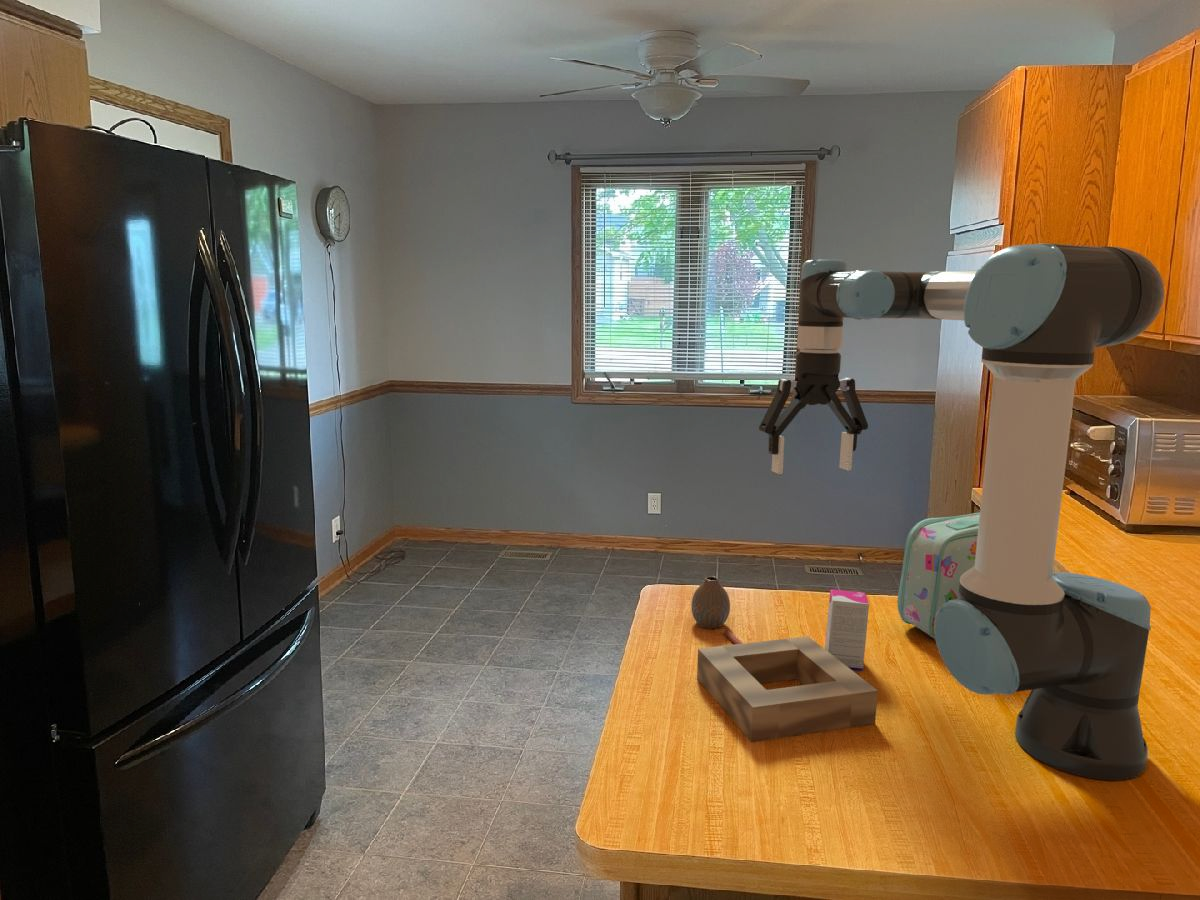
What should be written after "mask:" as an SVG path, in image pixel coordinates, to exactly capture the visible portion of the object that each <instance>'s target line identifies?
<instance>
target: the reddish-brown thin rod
mask: <svg viewBox="0 0 1200 900" xmlns="http://www.w3.org/2000/svg"><path fill="white" fill-rule="evenodd" d="M723 634H724V635H725V636H726V637H727V638H728V639H729V640H730V641H731V642H732V643H734V644H743V642H742V640H740V639H739V638H738V637H737V636H736V635H735V634H734V633H733V632H731V631H730V629H728V628H724V630H723Z"/></svg>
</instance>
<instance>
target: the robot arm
mask: <svg viewBox="0 0 1200 900" xmlns="http://www.w3.org/2000/svg"><path fill="white" fill-rule="evenodd" d="M847 266H848V265H847V263H846V262H845V261H844V259H843V260H842V259H809V260H806V261H804V262H803V264H802V266H801V274H800V275H801V276H800V280H799V301H798V323H797V325H798V326H797V340H796V341H797V342H796V348H797V349H798V350H799V349H800V351H798V352H797V353H796V356H795V360H796V361H795V379H794V380H790V379H785V378H779V379H778V383H777V389H776V391H775V395H774V397H773V399H772V400H771V403H770V404H769V407H768V408H767V410H766V413H765V414H764V416H763V418H762V420H761V423H760V424H759V427H758V430H759V432H762V433H765V434H767V435H768V453H769V454H771V456H772V457H771V458H772V459H771V472H774V473H775V474H778V475H782V474H783V472H784V471H783V470H784V456H785V455H784V454H785V451H784V450H785V436H782V435H781V434H783V432H784V431H785V430H786V428H787V427H788V426H789V425H790V424H791V423H792V421H793V420H794V419H795V417H796V416H797V415H798V414H799V413H800V411H801V410H802V409H804V408H806V406H807V405H808V406H815V405H816V406H817V405H825V406H826V405H827V406H829V408H830V410H831V411H832V412H833V414H834V415H835V416H836V418H837V419H838V421H839V422H840V424H841V425H842V427H843V428H844V429H845V430H846V431H842V432H841V438H840V450H839V452H840V453H839V469H842V470H845V471H852V463H853V452H856V450H857V446H858V445H857V442H858V435H860V434H862V431H863V430H864V431H866V430H868V428H869V424H868V422H867V421H868V420H867V419H866V416H865V413H864V411H863V407H862V406H861V403H860V399H859V397H858V394H857V392H856V380H855V379H854V378H852V377H851V378H850V377H842V379H840V377H839V374H840V373H841V364H842V363H841V362H842V355H841V353H840V352H839V351H840V350H841V349H843V348H842V347H843V330H844V318H845V319H846V318H847V319H854V320H859V321H860V320H867V321H868V320H872V319H915V320H916V319H917V320H918V319H919V320H921V319H922V320H923V319H925V320H947V321H963V322H964V325H965V327H966V328H968V329H969V330H968V331H967V333H968V335H969V337H970V339H972V341H974V343H976V344H977V345H979V346H981V347H982V351H981V352H982V353H981V360H980V361H981V363H982V364H983V365H984V366H985V367H986V368H987V369H988V370H989V371H990V373H991V374H992V376H993V379H992V380H993V381H992V389H991V390H992V391H991V392H992V393H991V399H990V401H991V402H990V410H989V419H988V420H989V422H988V430H987V431H988V432H987V438H986V439H987V440H986V448H985V450H986V451H985V459H984V469H983V480H982V490H981V499H980V508H979V512H980V517H979V527H978V537H977V547H976V556H975V565H974V567H972V568H971V569H969V570H968V571H966V572H965V573H964V574H962V575H961V577H960V583H959V593H958V599H955V600H949V601H948V602H947V603H945V604H943V606H942V607H941V608H939V610H938V611H937V614H936V617H935V623H934V632H935V638H934V640H935V642H936V643H935V644H936V647H937V650H938V653H939V656H940V658H941V659H942V662H944V665H945V667H946V668H947V670H948V672H949V673H950V674H951V676H952V677H953V679H954V680H956V681H957V683H959V684H960V685H961V686H963V687H964V688H965V689H967V690H969V691H970V692H972V693H975V694H978V695H985V696H986V695H987V696H989V695H997V694H998V695H999V694H1000V695H1005V696H1006V695H1013V694H1014V693H1016V692H1017V693H1018V692H1023V691H1024V692H1025V691H1030V690H1031V691H1030V693H1029V695H1028V696H1027V698H1026V700H1025V702H1024V704H1023V707H1022V708H1021V710H1020V711H1019V713H1018V715H1017V717H1016V721H1015V728H1014V729H1015V730H1014V731H1015V732H1014V737H1015V739H1016V742H1017V743H1018V745H1020V747H1021V748H1022V749H1023V750H1024V751H1025V752H1027V753H1028V754H1029V755H1030V756H1032V757H1034V758H1035V759H1037V760H1039V761H1040V762H1042V763H1044V764H1046V765H1048V766H1051V767H1052V768H1054V769H1057V770H1060V771H1063V772H1066V773H1069V774H1072V775H1076V776H1080V777H1083V778H1084V777H1085V778H1089V779H1096V780H1103V781H1122V780H1123V781H1125V780H1129V779H1130V780H1131V779H1134V778H1137V777H1139V776H1140V775H1143V772H1144V771H1145V770H1146V767H1147V761H1148V754H1149V751H1148V745H1147V741H1146V739H1145V738H1144V734H1143V727H1142V722H1141V721H1142V720H1141V717H1140V711H1139V708H1138V707H1139V698H1140V693H1141V692H1140V691H1141V686H1142V679H1143V673H1144V667H1145V659H1146V653H1147V647H1148V641H1149V634H1150V631H1151V629H1152V626H1151V625H1150V624H1151V623H1150V622H1151V611H1152V610H1151V609H1152V608H1151V604H1150V602H1149V600H1148V598H1147V597H1146V596H1145V595H1144V594H1142V593H1140V592H1139V591H1137V590H1135V589H1134V588H1131V587H1129V586H1126V585H1123V584H1121V583H1118V582H1115V581H1112V580H1108V579H1103V578H1100V577H1098V576H1097V577H1095V576H1091V575H1087V574H1081V573H1076V572H1075V573H1074V572H1063V571H1062V572H1054V564H1055V555H1056V547H1057V542H1058V540H1057V539H1058V529H1059V523H1060V522H1059V521H1060V515H1061V513H1060V512H1061V505H1062V497H1063V490H1064V484H1065V483H1064V480H1065V473H1066V464H1067V456H1068V448H1069V439H1070V433H1071V424H1072V423H1071V422H1072V417H1073V416H1072V415H1073V406H1074V398H1075V397H1074V396H1075V389H1076V381H1078V379H1079V378H1080V376H1082V375H1083V374H1085V373H1086V372H1087V371H1088V370H1090V369H1091V368H1092V367H1094V359H1095V352H1096V348H1103V347H1112V346H1115V345H1119V344H1120V345H1121V344H1124V343H1126V342H1128V341H1131V340H1132V339H1135V338H1137V337H1138V336H1139V335H1141V334H1142V333H1144V332H1145V331H1146V330H1147V329H1149V327H1150V326H1151V325H1152V324H1153V323H1154V322H1155V320H1156V319H1157V317H1158V316H1159V314H1160V311H1161V309H1162V306H1163V303H1164V298H1165V288H1164V287H1165V286H1164V280H1163V277H1162V275H1161V274H1160V271H1159V270H1158V268H1157V267H1156V266H1155V264H1154V263H1153V262H1152V261H1151V260H1149V259H1148V258H1147V257H1146V256H1144V255H1143V254H1141V253H1139V252H1138V251H1135V250H1132V249H1129V248H1124V247H1119V246H1090V245H1076V244H1075V245H1073V244H1058V243H1057V244H1056V243H1041V242H1039V243H1035V244H1034V243H1033V244H1032V243H1031V244H1020V245H1019V244H1018V245H1011V246H1008V247H1005V248H1003V249H1000V250H998V251H997V252H995V253H993V254H992V255H991V256H990V257H988V258H987V260H986V261H985V262H984V264H983V265H982V266H980V267H979V268H978V269H977V270H954V271H953V270H951V271H893V270H892V271H891V270H887V271H885V270H883V271H882V270H874V269H857V270H848V269H847ZM839 389H840V391H841V392H842V396H843V398H844V401H845V403H846V406H847V409H848V411H849V412H848V411H847V409H846V407H844V405H843V404H842V400H841V399H840V398H839V396H838V395H837V391H839ZM793 390H795V394H794V395H793V396H792V397H791V399H790V402H789V403H788V404H787V406H786V407H785V405H786V403H787V401H788V398H790V397H789V396H790V394H791V393H792V392H793ZM784 407H785V409H784ZM783 409H784V410H783Z"/></svg>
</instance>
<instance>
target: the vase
mask: <svg viewBox="0 0 1200 900" xmlns="http://www.w3.org/2000/svg"><path fill="white" fill-rule="evenodd" d="M690 606H691V614H692V617H693V619H694V620H695V623H696V624H698V625H699V626H700V627H701V628H704V629H711V630H712V629H718V628H720V627H721V626H723V625H724V624H725V623H726V622H727V620H728V618H729V615H730V612H731V602H730V597H729V594H728V593H727V591H726V589H725V588H724V586H723V585H722V584H721V582H720V579H719V577H716V576H713V575H710V576H708V575H707V576H705V578H704V580H703V581H702V583H701V584H700V585H699V586H698V587H697V589H695V591H694V593H693V595H692V598H691V605H690Z"/></svg>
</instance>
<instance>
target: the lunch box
mask: <svg viewBox="0 0 1200 900" xmlns="http://www.w3.org/2000/svg"><path fill="white" fill-rule="evenodd" d="M979 517H980V511H979V512H974V513H970V514H969V513H968V514H963V515H961V514H960V515H955V516H953V515H952V516H945V517H943V516H942V517H930V518H929V517H927V518H925V519H923V520H920V521H919V522H917V523H915V525H914V526H913V527H911V529H910V531H909V533H908V534H907V537H906V539H905V543H904V553H903V560H902V569H901V573H900V581H899V587H898V593H897V611H898V615H899V617H900V618H901V621H902V622H903V623H905V624H907V625H913V626H914V627H916V628H918V630H919V629H920V630H921V631H922V632H924V633H925V634H927V635H928V636H929V637H931V638H933V639H935V632H934V623H935V617H936V614H937V611H938V610H939V608H941V607H942V606H943V604H945V603H947V602H948V601H949V600H955V599H958V593H959V583H960V577H961V575H962V574H964V573H965V572H966V571H968V570H969V569H971V568H972V567H974V565H975V556H976V547H977V537H978V527H979Z"/></svg>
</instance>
